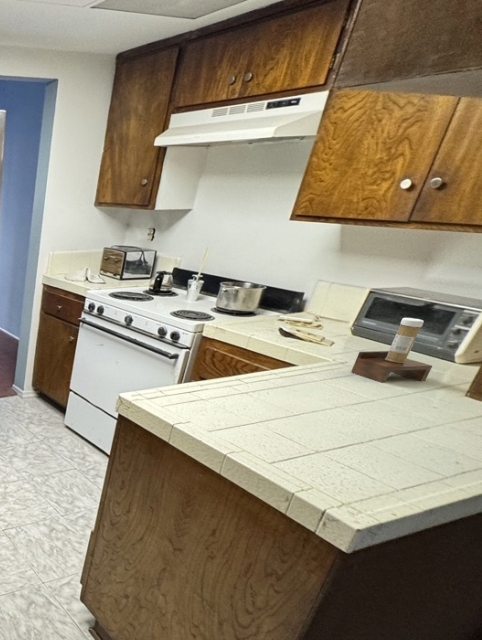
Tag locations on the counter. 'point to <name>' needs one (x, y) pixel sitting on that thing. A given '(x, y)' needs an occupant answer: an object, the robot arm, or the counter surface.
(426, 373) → the shelf
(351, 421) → the counter surface
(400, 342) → the sprinkles bottle
